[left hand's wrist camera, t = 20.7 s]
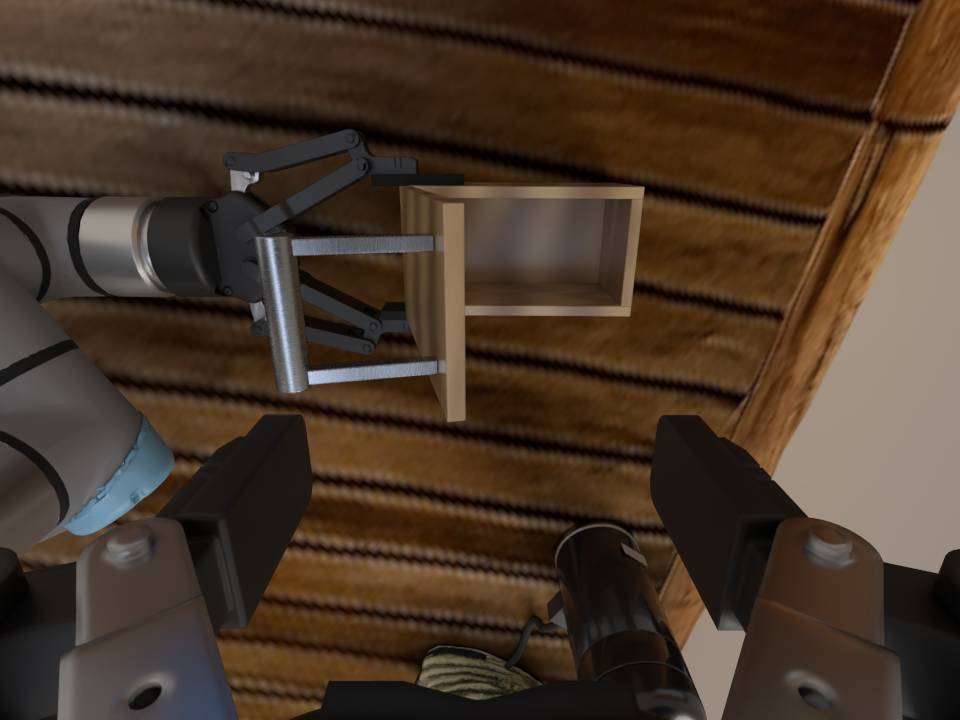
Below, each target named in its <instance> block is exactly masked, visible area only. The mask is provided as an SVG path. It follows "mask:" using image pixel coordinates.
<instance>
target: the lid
mask: <svg viewBox="0 0 960 720" xmlns="http://www.w3.org/2000/svg"><path fill="white" fill-rule="evenodd" d="M400 208H401V228H402V234H390V235H351V236H311V237H294V234H292V233H285V232H274V233H261V234H257V235H254V241H255V247H256V254H257V261H258V268H259V274H260V281H261V288H262V294H263V301H264V308H265V315H266V321H267V328H268V335H269V341H270V348H271V355H272V362H273V368H274V375H275V382H276V388H277V390H278V391H279V392H282V393H298V392H302V391H305V390H307V389H309V388H310V387H311V386H312V385H315V384H326V383H337V382H349V381H360V380H372V379H383V378H395V377H406V376H418V375H429V377H430V379H431V382H432V384H433V387H434V389H435V392H436V394H437V397H438V399H439V402H440V405H441V407H442V410H443V412H444V415H445V417H446V420H447V422H454V421H463V420H465V419H466V407H465V251H464V203H462V202H459V201H456V200H453V199H450V198H446V197H443V196H440V195H437V194H434V193H431V192H428V191H425V190H422V189H419V188H416V187H413V186H400ZM375 253H403V269H404V290H405V310H406V319H407V321H408V324H409V326H410V329H411V331H412V334H413V336H414V339H415V341H416V344H417V346H418V349H419V351H420V354H421V357H412V358H400V359H387V360H375V361H362V362H349V363H337V364H324V365H312V366H310V361H309V353H308V345H307V336H306V328H305V320H304V312H303V304H302V295H301V287H300V279H299V271H298V262H297V256H315V255H345V254H375Z"/></svg>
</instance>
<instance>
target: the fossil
mask: <svg viewBox="0 0 960 720" xmlns="http://www.w3.org/2000/svg"><path fill="white" fill-rule="evenodd" d="M505 663H506V661H504V660H502V659H500V658H498V657H495V656H493V655H491V654H489V653H486V652H483V651H480V650H476V649H471V648H464V647H454V646H437V647H435V648H433V649H431V650H429V651H428V653H427V655H426V656H425V659H424V660H423V665H422V671H421V673H420V674H419V675H418V677H417V679H416V681H415V684H417V685H420V686H424V687H428V688H432V689H436V690H439V691H443V692H447V693H451V694H455V695H459V696H462V697H466V698H470V699H475V700H485V699H490V698H494V697H498V696H501V695H505V694H509V693H513V692H517V691H521V690H524V689H528V688H532V687H536V686H540V685H543V684H542V683H540V682H539V681H537V680H535V679H534V678H533V677H531V676H530V675H529V674H527V673H526V672H524V671H522V670H520V669H519V668H517V667H514V666H513V667H512V668H510V669H509V670H508V669H506V668H505Z"/></svg>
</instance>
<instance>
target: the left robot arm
mask: <svg viewBox="0 0 960 720" xmlns="http://www.w3.org/2000/svg"><path fill="white" fill-rule="evenodd" d="M312 482H313V481H312V470H311V463H310V455H309V448H308V441H307V433H306V426H305V422H304V419H303V417H302V416H301V415H299V414H267V415H264V416H263V417H262V418H261V419H260V420H259V421H258V422H257V423H256V425H255V426H254V427H253V428H252V429H251V430H250V431H249V433H248V434H247V435H246V436H245V437H237V438H236V439H234V440H232V441H231V442H229V443H227V444H225V445H224V446H222V447H220V448H219V449H217V450H216V451H215V452H214V453H213V455H212V456H211V457H210V458H209V459H208V460H207V461H206V462H205V463H204V467H201V468H200V469H199V470H198V471H197V472H196V473H195V474H194V475H193V479H189V481H188V482H187V483H186V484H185V485H184V486H183V487H182V488H181V489H180V490H179V491H178V492H177V494H176V495H175V496H174V497H173V498H172V499H171V500H170V501H169V502H168V503H167V504H166V505H165V507H164V508H163V509H162V510H161V511H160V512H159V513H158V514H157V515H156V516H155V517H152V518H145V519H140V520H136V521H132V522H129V523H126V524H123V525H120V526H118V527H116V528H114V529H112V530H110V531H108V532H106V533H104V534H103V535H101V536H100V537H98V538H97V539H95V540H94V541H93V542H91V543H90V544H89V545H88V546H87V547H86V548H85V549H84V550H83V552H82V553H81V554H80V556H79V558H78V560H77V562H72V563H67V564H62V565H58V566H53V567H48V568H43V569H38V570H33V571H29V572H24V571H23V569H22V566H21V564H20V561H19V559H18V556H17V554H16V553H15V552H14V551H13V550H11V549H9V548H4V547H0V720H239V719H238V716H237V712H236V709H235V705H234V702H233V698H232V695H231V691H230V688H229V684H228V681H227V677H226V673H225V670H224V666H223V663H222V659H221V656H220V652H219V649H218V645H217V642H216V638H215V637H216V635H217V633H218V632H219V630H220V629H246V628H247V626H248V624H249V622H250V620H251V618H252V616H253V614H254V612H255V610H256V608H257V606H258V604H259V602H260V600H261V598H262V596H263V594H264V592H265V590H266V588H267V586H268V584H269V582H270V580H271V578H272V576H273V574H274V572H275V570H276V568H277V566H278V564H279V562H280V560H281V558H282V556H283V554H284V552H285V550H286V548H287V546H288V544H289V542H290V540H291V538H292V536H293V534H294V532H295V531H296V529H297V527H298V525H299V523H300V521H301V519H302V517H303V515H304V513H305V511H306V509H307V507H308V505H309V502H310V498H311V494H312ZM650 490H651V496H652V501H653V504H654V506H655V508H656V510H657V512H658V514H659V516H660V518H661V520H662V522H663V524H664V526H665V528H666V530H667V532H668V534H669V536H670V538H671V540H672V542H673V544H674V545H675V547H676V549H677V551H678V553H679V555H680V557H681V559H682V561H683V563H684V565H685V567H686V569H687V571H688V573H689V575H690V577H691V579H692V581H693V583H694V585H695V587H696V589H697V590H698V592H699V594H700V596H701V598H702V600H703V602H704V604H705V606H706V608H707V610H708V612H709V614H710V616H711V618H712V620H713V622H714V624H715V626H716V628H717V629H718V630H744V631H745V633H746V635H745V639H744V642H743V646H742V649H741V652H740V656H739V659H738V663H737V667H736V670H735V674H734V677H733V680H732V684H731V688H730V691H729V694H728V698H727V702H726V705H725V709H724V712H723V716H722V719H721V720H960V549H957V550H953V551H951V552H949V553H948V554H947V555H946V556H945V558H944V561H943V563H942V566H941V568H940V571H939V573H938V574H937V573H933V572H927V571H923V570H918V569H913V568H909V567H904V566H899V565H894V564H889V563H885V562H883V560H882V558H881V556H880V554H879V553H878V552H877V550H876V549H875V548H874V547H873V546H872V545H871V544H870V543H869V542H867V541H866V540H865V539H863V538H862V537H860V536H859V535H857V534H856V533H854V532H852V531H850V530H848V529H846V528H844V527H842V526H840V525H837V524H834V523H831V522H828V521H824V520H820V519H815V518H809V517H808V516H807V515H806V514H805V513H804V512H803V511H802V510H801V509H800V508H799V507H798V506H797V504H796V503H795V502H794V501H793V500H792V499H791V498H790V497H789V496H788V495H787V494H786V493H785V492H784V491H783V489H782V488H781V487H780V486H779V485H778V484H777V483H776V482H775V481H774V480H771V477H770V475H769V474H768V473H767V472H766V471H765V470H764V469H763V468H760V465H759V464H758V463H757V462H756V460H755V459H754V458H753V457H752V456H751V455H750V454H749V453H748V452H747V451H746V450H745V449H743V448H741V447H740V446H738V445H736V444H735V443H733V442H731V441H729V440H728V439H726V438H724V437H717V435H716V434H715V433H714V432H713V431H712V430H711V429H710V427H709V426H708V425H707V424H706V423H705V422H704V421H703V419H702V418H701V417H700V416H698V415H663V416H661V417H660V419H659V422H658V426H657V432H656V439H655V447H654V454H653V461H652V468H651V476H650ZM554 561H555V566H556V570H557V573H558V583H559V589H560V591H559V592H558V593H557V594H556V595H555V596H554V597H553V598H552V599H551V600H550V601H549V602H548V603H547V608H548V614H549V620H550V621H551V623H548V624H544V623H543V621H542V620H541V619H540V618H539V617H537V616H535V617H533V618H531V619H530V620H529V621H528V622H527V624H526V626H525V629H524V631H523V634H522V636H521V639H520V641H519V644H518V647H517V649H516V651H515V652H514V654H513V656H512V657H511V658H510V659H509V660H508V661H507V662H506V663H505V668H506V669H508V670H509V669H510V668H512V667H513V666H514V665H515V664H516V663H517V661H518V660H519V659H520V657H521V655H522V653H523V651H524V649H525V646H526V644H527V641H528V638H529V635H530V633H531V630H532V628H533V627H534V626H535V625H536V626H537V628H538V629H539V630H540V631H542V632H552V631H555V630H557V629H559V628H561V627H562V628H564V629H566V630H567V631H568V637H569V642H570V647H571V649H572V651H573V657H574V662H575V667H576V672H577V677H578V681H555V682H551V683H547V684H543V685H540V686H536V687H532V688H528V689H524V690H521V691H517V692H513V693H509V694H505V695H501V696H498V697H494V698H490V699H485V700H475V699H470V698H466V697H462V696H459V695H455V694H451V693H447V692H443V691H439V690H436V689H432V688H428V687H424V686H420V685H417V684H413V683H409V682H405V681H329V682H328V686H327V689H326V693H325V696H324V700H323V703H322V706H321V709H318V710H314V711H310V712H308V713H305V714H302V715H300V716H297V717H294V718H292V719H290V720H707V718H706V714H705V710H704V707H703V705H702V702H701V700H700V697H699V695H698V693H697V690H696V688H695V685H694V683H693V681H692V678H691V676H690V673H689V671H688V668H687V666H686V663H685V661H684V659H683V656H682V654H681V652H680V649H679V647H678V644H677V642H676V640H675V637H674V635H673V632H672V630H671V627H670V625H669V623H668V620H667V618H666V615H665V613H664V610H663V608H662V606H661V603H660V601H659V598H658V596H657V593H656V591H655V589H654V586H653V584H652V581H651V579H650V576H649V574H648V572H647V569H646V567H645V565H646V566H648V565H647V563H646V561H645V558H644V556H642V555H641V554H640V550H639V547H638V545H637V542H636V540H635V538H634V536H633V535H632V534H631V532H630V531H629V530H628V529H626V528H625V527H623V526H622V525H620V524H617V523H615V522H611V521H606V520H592V521H587V522H583V523H580V524H578V525H576V526H574V527H572V528H571V529H569V530H568V531H567V532H566V533H564V534H563V536H562V537H561V538H560V539H559V541H558V543H557V545H556V547H555V551H554Z"/></svg>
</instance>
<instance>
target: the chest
mask: <svg viewBox="0 0 960 720" xmlns="http://www.w3.org/2000/svg"><path fill="white" fill-rule="evenodd" d="M408 186H413V187H416V188H419V189H422V190H425V191H428V192H431V193H434V194H437V195H440V196H443V197H446V198H450V199H453V200H456V201H459V202H462V203H464V251H465V315H485V316H630V312H631V303H632V294H633V285H634V276H635V267H636V258H637V249H638V240H639V231H640V222H641V213H642V205H643V196H644V187H642V186H634V185H626V184H619V183H551V182H464V185H408Z"/></svg>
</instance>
